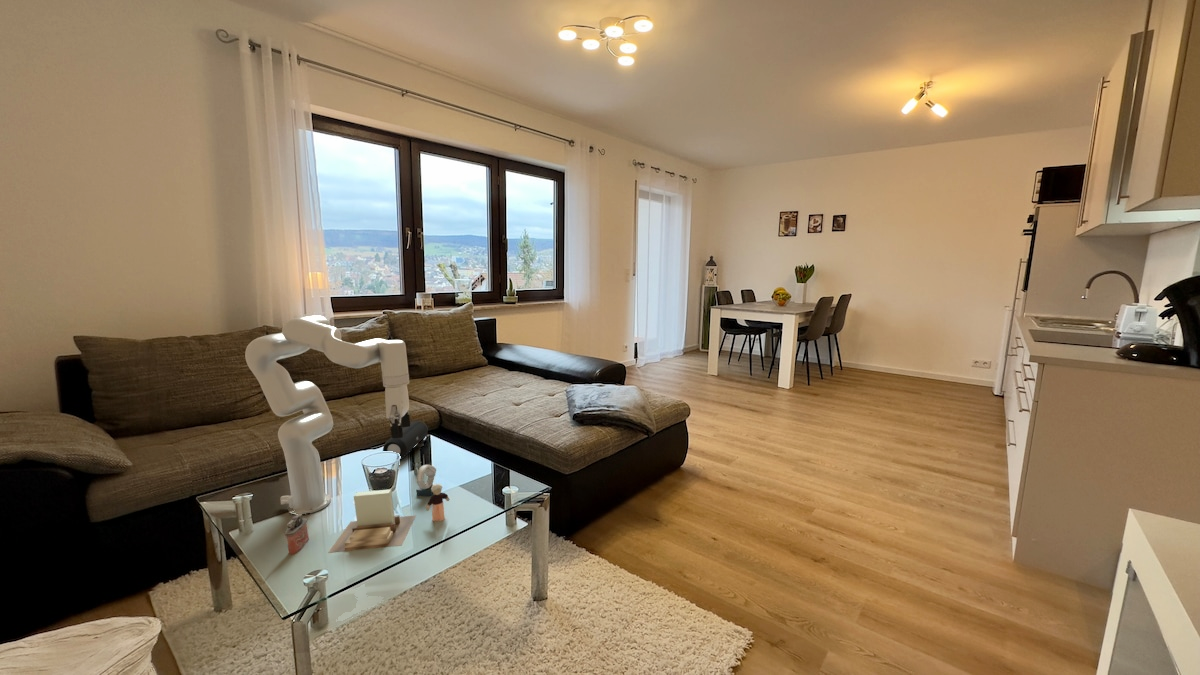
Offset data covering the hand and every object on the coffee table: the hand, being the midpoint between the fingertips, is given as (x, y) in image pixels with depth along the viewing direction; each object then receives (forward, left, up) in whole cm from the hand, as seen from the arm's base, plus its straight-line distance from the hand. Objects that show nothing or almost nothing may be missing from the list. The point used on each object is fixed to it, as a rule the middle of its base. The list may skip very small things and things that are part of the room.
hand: (401, 431), depth 148 cm
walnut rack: (-7, -11, -28) cm, 31 cm away
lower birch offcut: (-7, -16, -27) cm, 32 cm away
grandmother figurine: (+11, -6, -28) cm, 31 cm away
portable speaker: (-16, +55, -29) cm, 64 cm away
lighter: (-27, -14, -28) cm, 42 cm away
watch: (+3, +12, -28) cm, 31 cm away
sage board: (-7, -9, -27) cm, 30 cm away
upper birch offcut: (-7, -16, -26) cm, 31 cm away
